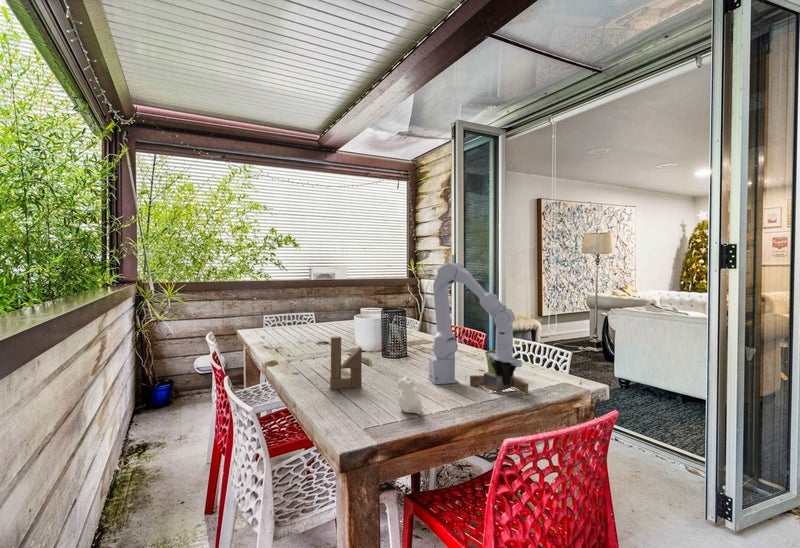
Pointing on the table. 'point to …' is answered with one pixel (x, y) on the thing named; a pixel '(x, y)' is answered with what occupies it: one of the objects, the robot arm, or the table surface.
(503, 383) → the bracket
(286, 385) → the table surface
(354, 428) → the table surface
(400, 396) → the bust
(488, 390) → the pad
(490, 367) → the plant pot
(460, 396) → the table surface
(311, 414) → the table surface
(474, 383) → the walls
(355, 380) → the brown angular piece
